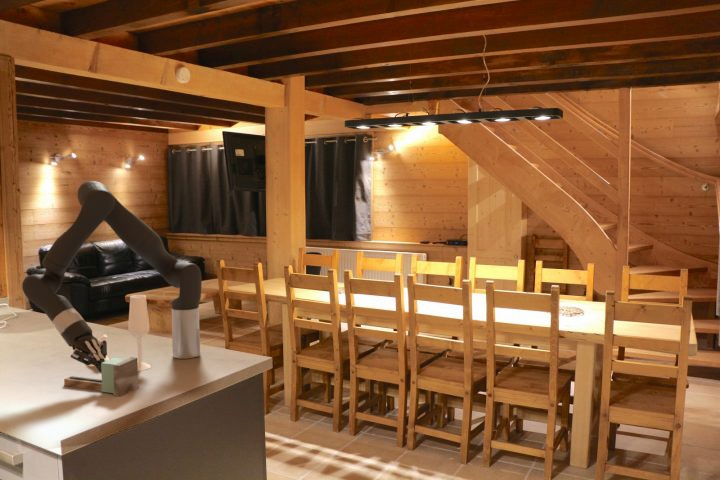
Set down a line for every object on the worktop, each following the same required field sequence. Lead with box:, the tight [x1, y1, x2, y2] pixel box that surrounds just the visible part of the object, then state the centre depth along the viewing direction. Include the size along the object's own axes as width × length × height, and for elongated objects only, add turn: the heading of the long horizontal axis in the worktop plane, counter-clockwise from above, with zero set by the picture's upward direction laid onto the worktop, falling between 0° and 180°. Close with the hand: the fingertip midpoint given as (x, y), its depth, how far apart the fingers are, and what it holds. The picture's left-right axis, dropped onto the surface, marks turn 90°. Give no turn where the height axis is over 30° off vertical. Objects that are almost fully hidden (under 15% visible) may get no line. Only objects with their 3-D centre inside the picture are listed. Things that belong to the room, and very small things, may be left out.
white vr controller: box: [84, 334, 110, 367], centre depth 198 cm, size 8×12×7 cm
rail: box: [64, 356, 139, 397], centre depth 173 cm, size 22×8×9 cm, turn 73°
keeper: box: [100, 357, 127, 394], centre depth 172 cm, size 5×6×8 cm
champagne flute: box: [127, 294, 152, 372], centre depth 192 cm, size 7×7×24 cm
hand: (106, 371), depth 172 cm, fingers closed
